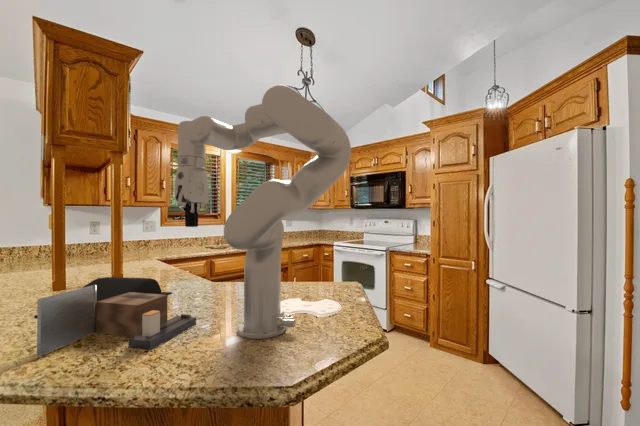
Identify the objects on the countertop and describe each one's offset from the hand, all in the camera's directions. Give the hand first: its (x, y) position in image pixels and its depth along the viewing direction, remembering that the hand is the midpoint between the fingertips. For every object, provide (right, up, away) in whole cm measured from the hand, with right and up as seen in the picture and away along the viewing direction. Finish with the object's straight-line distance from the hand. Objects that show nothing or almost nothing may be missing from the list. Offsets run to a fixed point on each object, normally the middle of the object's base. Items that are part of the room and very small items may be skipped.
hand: (191, 226), depth 87 cm
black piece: (-33, -28, +14) cm, 46 cm away
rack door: (-21, -26, -18) cm, 38 cm away
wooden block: (-12, -27, -7) cm, 31 cm away
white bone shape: (+34, -28, +10) cm, 45 cm away
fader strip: (-1, -27, -12) cm, 30 cm away
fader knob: (-2, -25, -17) cm, 30 cm away
